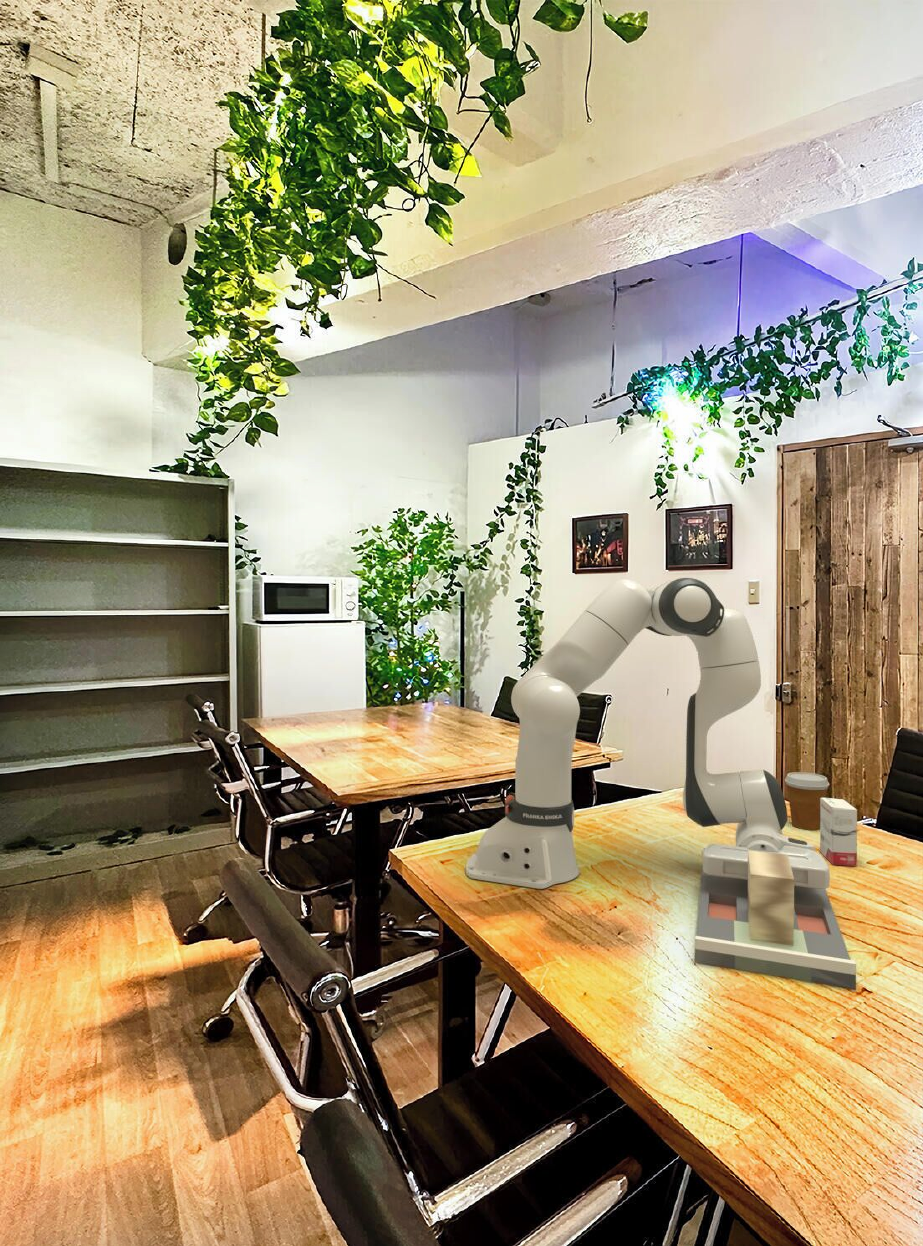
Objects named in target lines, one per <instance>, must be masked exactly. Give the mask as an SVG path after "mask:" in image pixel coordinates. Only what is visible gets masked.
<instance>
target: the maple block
mask: <svg viewBox="0 0 923 1246" xmlns="http://www.w3.org/2000/svg"><path fill="white" fill-rule="evenodd" d="M748 920H749V932H750V939H752V940H758V941H765V942H771V943H778V944H784V945H791V946H794V877H793V873H792V869H791V865H790V862H789V858H788V855H784V854H775V853H766V852H757V851H748Z"/></svg>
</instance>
